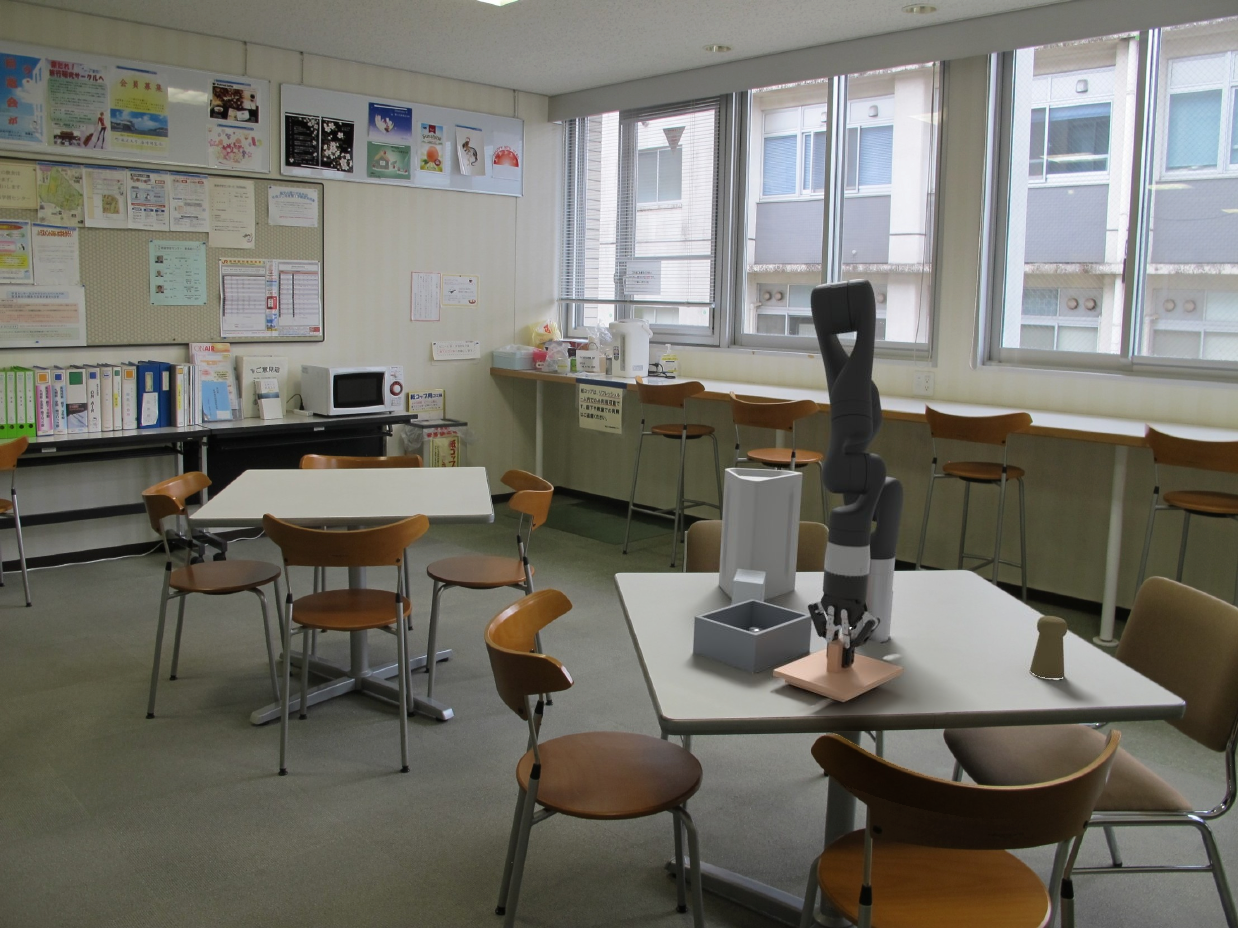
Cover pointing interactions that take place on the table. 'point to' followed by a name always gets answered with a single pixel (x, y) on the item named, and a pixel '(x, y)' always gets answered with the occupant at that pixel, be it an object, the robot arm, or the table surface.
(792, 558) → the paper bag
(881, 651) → the table surface
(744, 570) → the skincare box
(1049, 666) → the cork
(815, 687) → the lid
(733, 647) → the tub
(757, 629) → the metal part
